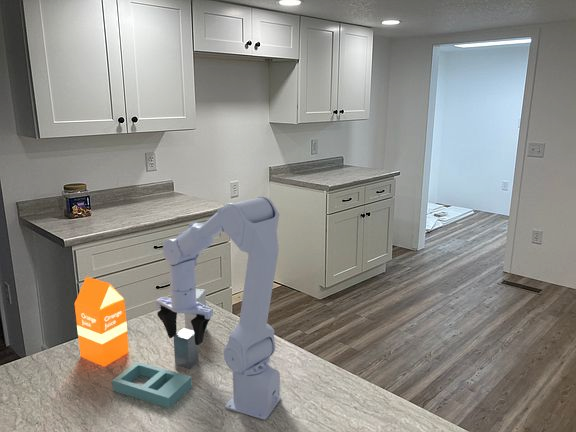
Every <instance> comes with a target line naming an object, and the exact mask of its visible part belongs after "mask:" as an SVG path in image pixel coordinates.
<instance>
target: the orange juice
mask: <svg viewBox="0 0 576 432" xmlns="http://www.w3.org/2000/svg"><path fill="white" fill-rule="evenodd" d="M74 310H75V321H76V328H77V336H78V345H79V354H80V355H79V356H80V357H81V358H83V359H85V360H88V361H90V362H91V363H92V362H93V363H95V364H97V365H99V366H102V367H106V366H108V365H110V364H112V363H113V362H114V361H116V360H118V359H120V358H122V357H123V356H125V355H127V354H128V353H130V351H129V350H130V349H129V339H128V338H129V337H128V324H127V322H128V321H127V315H126V305H125V298H124V297H123V295H121V294H120V293H119V292H118V291H117V290H116V289H115V288H114V286H113V285H112V284H111V283H110V282H106V281H102V280H99V279H96V278H92V277H88V276H85V279H84V281H83V283H82V285H81V288H80V291H79V293H78V295H77V297H76V299H75V302H74Z"/></svg>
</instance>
